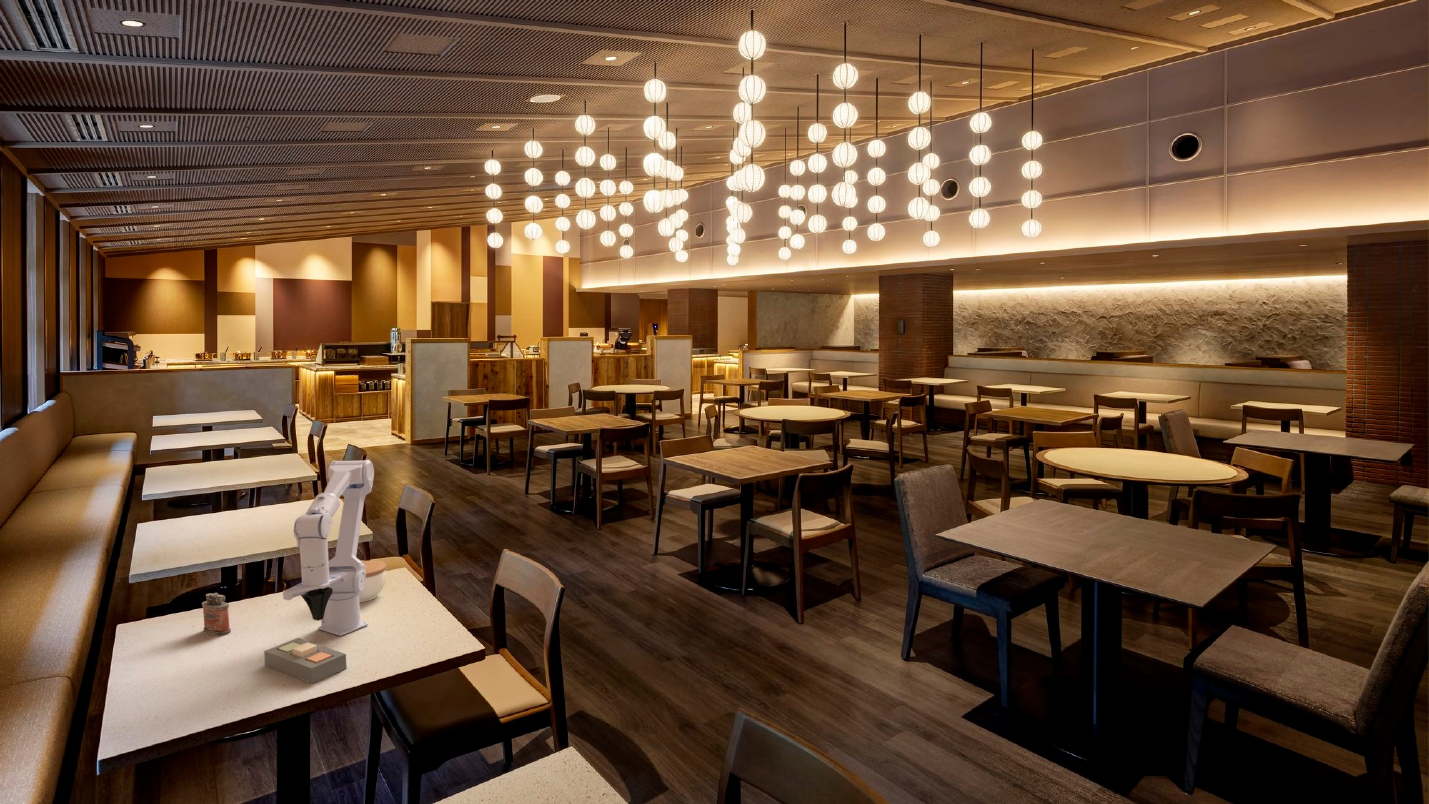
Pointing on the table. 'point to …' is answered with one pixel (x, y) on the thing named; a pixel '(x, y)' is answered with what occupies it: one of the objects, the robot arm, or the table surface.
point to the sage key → (288, 647)
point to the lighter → (216, 615)
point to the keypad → (305, 662)
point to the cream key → (304, 650)
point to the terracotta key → (319, 657)
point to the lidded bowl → (373, 580)
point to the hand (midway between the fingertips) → (318, 619)
